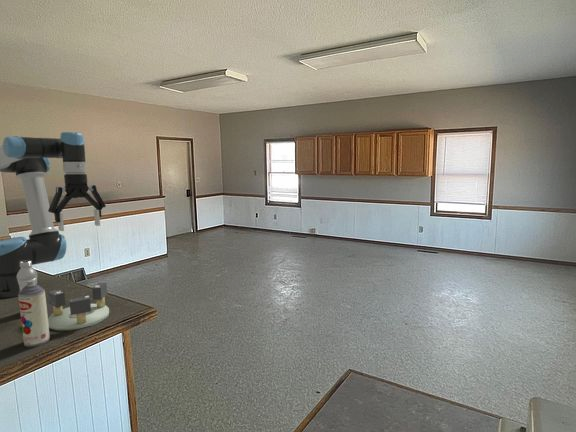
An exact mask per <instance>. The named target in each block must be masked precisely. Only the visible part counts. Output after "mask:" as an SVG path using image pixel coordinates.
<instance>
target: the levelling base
mask: <svg viewBox="0 0 576 432" xmlns="http://www.w3.org/2000/svg"><path fill="white" fill-rule="evenodd" d="M90 305H91V311H90V312H86V323H84V324H77V316H76V314H74V315H71V312H70V306H68V307H65V308H63V314H62V315H60V316H54V312H53V313H51V315H49V316H48V324H49V329H51V330H53V331H73V330H80V329H85V328H89V327H91V326H94V325H98V324H99V323H101V322H102V321H104V320H106V319H107V318H108V317H109V315H110V308H109V306H107V305H106V304H105V307H102V308H97V303H90Z"/></svg>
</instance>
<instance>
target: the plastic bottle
mask: <svg viewBox="0 0 576 432" xmlns="http://www.w3.org/2000/svg"><path fill="white" fill-rule="evenodd" d="M20 267H21V269H20V270H19V272H18V274H17V281H18V284H19V288H20V291H21V290H22V289H23V288H24V287H25V286H26V285H27V281H30V280H34V283H35V284H37V285H38V272H37V270H36V269H35V268H34V267H33V265H32V261H31V260H24V261H21V262H20Z"/></svg>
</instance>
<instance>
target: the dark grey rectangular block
mask: <svg viewBox="0 0 576 432" xmlns="http://www.w3.org/2000/svg"><path fill="white" fill-rule="evenodd" d="M47 294H48V301H49V302H48V303H49V304H50V305H52V310H53V313H54V316H60V315H62V314H63V309H64V308H63V306H66V297H65V292H63V291H62V290H60V289H54V290H50V291H48V292H47Z"/></svg>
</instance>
